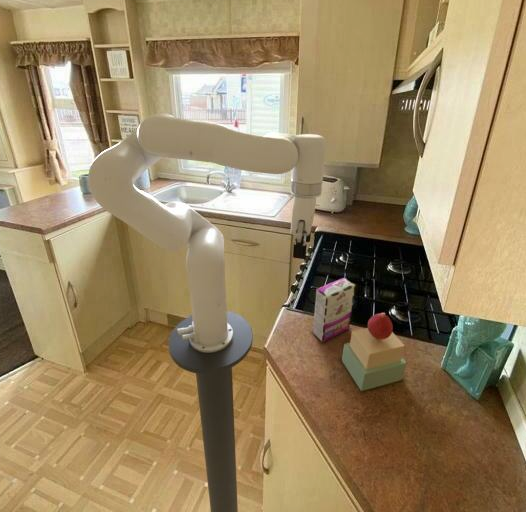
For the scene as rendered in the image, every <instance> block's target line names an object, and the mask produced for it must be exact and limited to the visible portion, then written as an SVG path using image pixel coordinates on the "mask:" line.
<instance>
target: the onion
mask: <svg viewBox="0 0 526 512" xmlns="http://www.w3.org/2000/svg"><path fill="white" fill-rule="evenodd" d="M393 326H394V325H393V323H392V319H391V318H389V316H388V315H386V312H381V313H380V312H379V313H376V314H373V315H372V316H371V317H370V318H369V319H368V321H367V328H368V330H369V332H370V334H371V335H372V336H373V337H375V338H376V339H386V338H388V337H389V336H390V335H391V334H392V332H393V329H394V327H393Z"/></svg>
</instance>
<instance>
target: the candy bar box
mask: <svg viewBox="0 0 526 512" xmlns="http://www.w3.org/2000/svg"><path fill="white" fill-rule="evenodd" d="M355 291H356V284H355V283H353V282H351V281H350V280H348V279H347V278H345V277H342V278H340V279H338V280H335V281H333V282H330V283H328V284H326V285H323V286H320V287H318V288H316V290H315V292H316V293H315V301H314V313H313V314H314V315H313V325H312V334H313V335H314V336H315V337H317V338H318V339H319V341H320V342H321V343H325V342H326V341H328V340H330V339H332V338H333V337H335V336H337V335H340V334H342V333H343V332H346V331H348V330H349V329H350V325H351V318H352V311H353V303H354V297H355Z"/></svg>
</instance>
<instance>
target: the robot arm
mask: <svg viewBox="0 0 526 512" xmlns="http://www.w3.org/2000/svg"><path fill="white" fill-rule="evenodd" d="M326 149H327V140H326V137H324V136H322V135H321V134H314V133H303V134H290V133H286V132H285V133H284V132H277V131H276V132H275V131H274V132H269V133H267V134H265V135H264V136H263V135H256V134H250V133H245V132H241V131H238V130H234V129H232V128H229V127H227V126H225V125H223V124H221V123H217V122H211V121H204V120H195V119H188V118H181V117H175V116H174V115H172V114H170V113H167V112H156V113H153V114H150V115H149V116H147V117H145V118H144V119H142V121H141V122H140V123H139V125H138V128H136V129H135V130H133V131H132V132H131V133H129V134H128V135H127V136H126V137H124V139H122V140H121V141H119V142H118V143H116V144H115V145H113V146H111V147H109V148H107V149H105V150H104V151H102V152H101V153H100V154H98V155H97V156H96V157H95V158H94V160H93V161H92V163H91V164H90V166H89V170H88V174H87V175H88V176H87V181H88V182H87V183H88V188H89V191H90V194H91V196H92V198H93V199H94V200H95V201H96V203H97V204H98V205H99V206H100V207H101V208H102V209H104V210H105V211H106V212H108V213H109V214H111V215H112V216H114V217H115V218H117V219H118V220H120V221H122V222H123V223H125V224H127V225H128V226H130V227H131V228H132V229H133V230H135V231H136V232H138V233H139V234H141V236H143V237H145V239H148V240H149V241H151V242H152V243H154V244H155V245H157V246H158V247H160V249H163V250H165V251H167V252H178V251H181V250H182V249H183V248H185V247H186V246H187V251H186V257H185V271H186V276H187V281H188V286H189V296H190V303H191V316H192V315H193V321H192V325H191V326H189V327H187V328H180V329H177V330H178V336H180V335H182V338H183V340H186V339H189V340H190V344H191V346H192V347H193V348H194V349H196V350H198V351H200V352H206V353H210V352H216V351H219V350H222V349H224V348H225V347H226V346H228V345H229V344H230V342H231V341H232V338H233V329H232V327H231V326H230V325H229V324H228V323H227V311H228V307H227V289H226V287H227V286H226V285H227V284H226V257H225V254H226V253H225V239H224V235H223V233H222V232H221V231H220V229H218V228H217V226H216V225H214V224H213V223H212V222H210V220H208V219H207V218H205V217H204V216H202V215H201V214H200V213H198V212H197V211H196V210H195V209H193V208H192V207H190V205H187V204H185V203H183V202H180V201H170V202H166V203H165V204H163V203H162V202H160V201H159V200H158V199H156V198H155V197H153V196H152V195H151V194H149V193H147V192H145V191H144V190H141V189H139V188H137V187H136V185H135V182H136V180H138V179H139V177H140V176H142V174H143V173H145V172H146V171H147V170H148V169H150V168H151V167H152V166H153V165H155V164H156V163H157V162H158V161H160V160H161V159H163V158H168V159H178V160H185V161H195V162H202V163H203V162H204V163H212V164H216V165H219V166H222V167H227V168H231V169H236V170H241V171H246V172H250V173H251V172H252V173H258V174H259V173H260V174H267V175H268V174H269V175H283V174H286V173H289V172H291V179H290V180H291V182H290V184H291V185H290V194H291V195H293V200H292V201H293V202H292V210H291V221H290V232H289V233H290V234H291V235H294V242H293V247H292V248H293V249H292V258H294V259H300V260H305V259H306V257H307V247H308V245H307V243H310V242H311V237H312V229H313V224H314V220H315V219H314V218H315V213H316V203H317V198H318V197H320V196H322V194H323V193H322V192H323V183H324V171H325V161H326ZM188 333H190V334H188ZM184 334H186V335H184Z"/></svg>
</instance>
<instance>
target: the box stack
mask: <svg viewBox="0 0 526 512" xmlns="http://www.w3.org/2000/svg"><path fill="white" fill-rule="evenodd" d="M349 341H350V342H346V343H344V344H343V350H342V351H343V352H342V356H341V362H342V363H343V365H344V367H345V368H346V369H347V371H348V372H349V374H350V377H352V379H353V381H354V382H355V384H356V385H357V387H358V388H359V390H360V391H361V392H363V391H367V390H370V389H374V388H377V387H382V386H385V385H388V384H389V385H390V384H393V383H396V382H399V381H403V378H404V375H405V370H406V367H407V364H408V362H407V361H406V360H405V359H404V358H403V354H404V350H405V348H406V347H405V346H406V345H405V344H404V343H403V342H402V340H400V338H398V336H397V335H396V334H395V333H394V332H393V331H392V334H391V335H390V336H389V337H388V338H386V339H376V338H375V337H373V336H372V335H371V334H370V332H369V330H368V327H365V328H361V329H356V330H352V331H351V335H350V340H349Z"/></svg>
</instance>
